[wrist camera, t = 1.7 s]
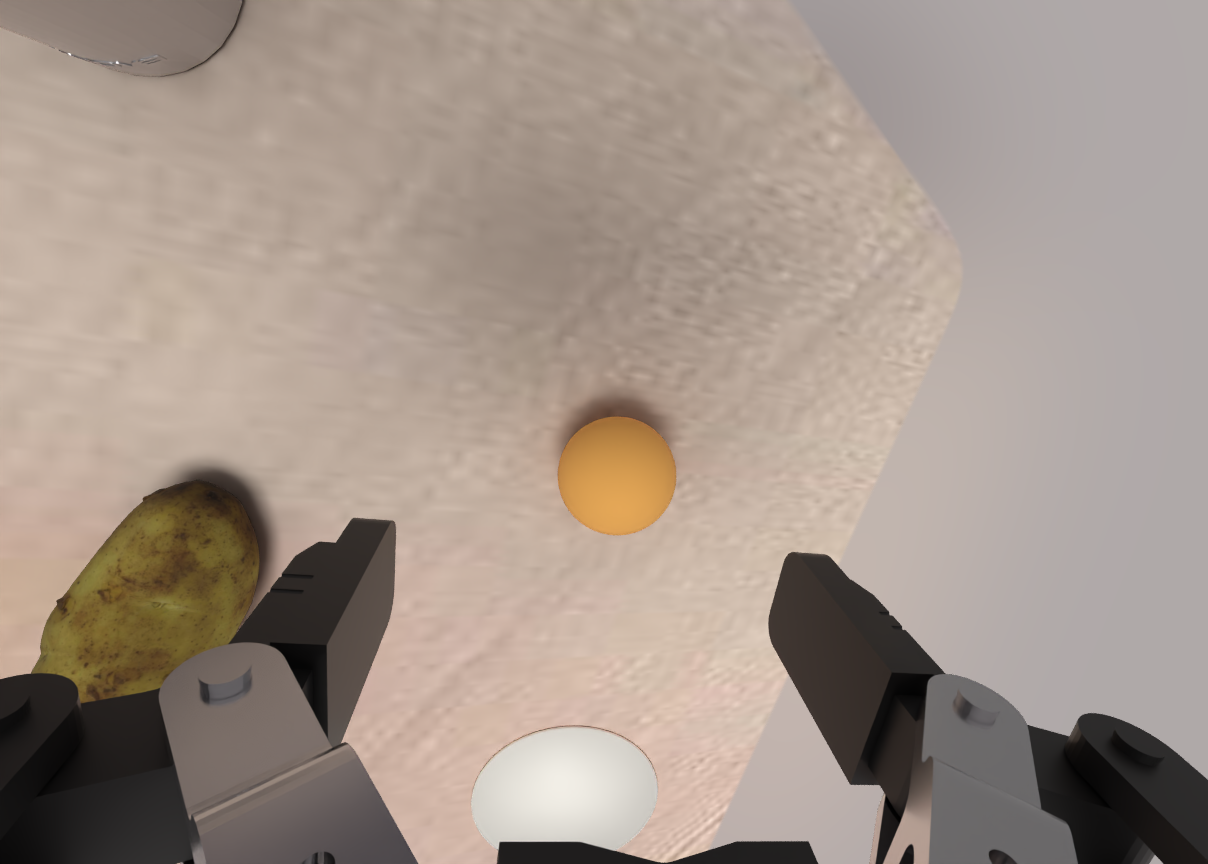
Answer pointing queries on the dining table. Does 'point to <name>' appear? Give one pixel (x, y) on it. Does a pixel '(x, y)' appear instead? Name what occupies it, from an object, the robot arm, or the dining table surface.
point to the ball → (617, 475)
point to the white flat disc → (565, 789)
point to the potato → (155, 593)
